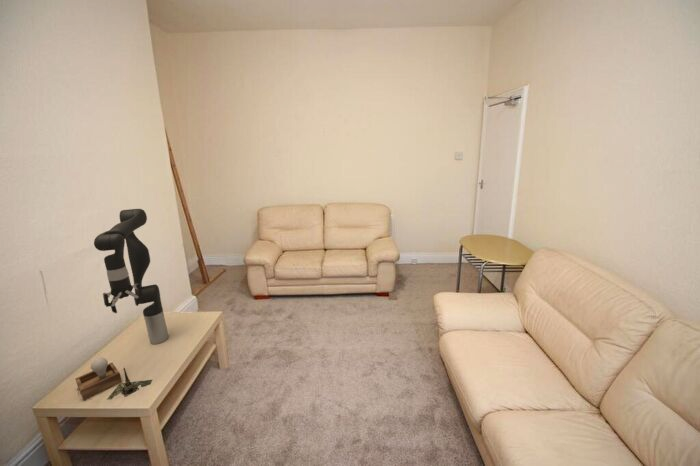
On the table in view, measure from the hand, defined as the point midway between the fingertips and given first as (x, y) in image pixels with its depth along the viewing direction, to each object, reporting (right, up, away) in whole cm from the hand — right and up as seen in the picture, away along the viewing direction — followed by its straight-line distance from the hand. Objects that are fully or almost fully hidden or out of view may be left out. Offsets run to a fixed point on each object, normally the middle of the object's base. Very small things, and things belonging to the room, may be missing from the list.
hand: (126, 308), depth 144 cm
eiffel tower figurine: (+5, -36, -4) cm, 37 cm away
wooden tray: (-11, -35, -1) cm, 37 cm away
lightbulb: (-11, -33, 0) cm, 35 cm away
